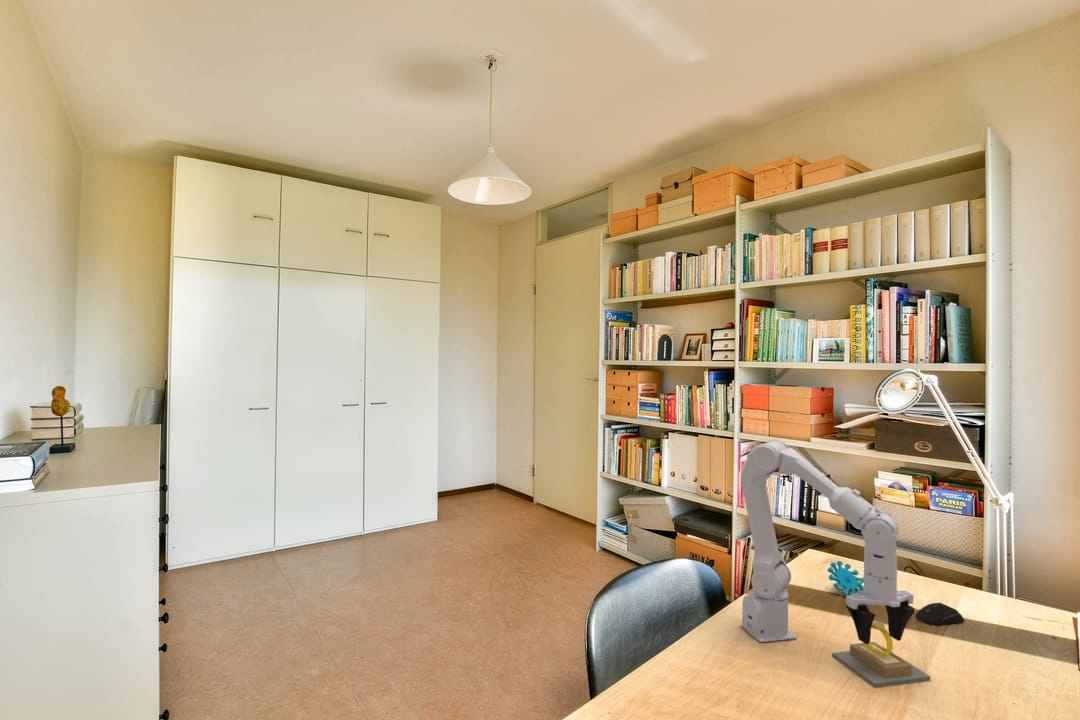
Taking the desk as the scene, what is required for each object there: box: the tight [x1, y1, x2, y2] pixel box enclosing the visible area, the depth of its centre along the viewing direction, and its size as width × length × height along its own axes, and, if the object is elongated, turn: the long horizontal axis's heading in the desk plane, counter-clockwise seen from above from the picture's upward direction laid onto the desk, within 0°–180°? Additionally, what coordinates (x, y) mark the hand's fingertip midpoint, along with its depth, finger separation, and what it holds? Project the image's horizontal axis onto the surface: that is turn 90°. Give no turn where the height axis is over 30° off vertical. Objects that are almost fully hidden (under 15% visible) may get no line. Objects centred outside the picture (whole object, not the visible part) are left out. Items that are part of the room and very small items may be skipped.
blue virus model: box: [826, 560, 864, 596], centre depth 146 cm, size 11×6×10 cm
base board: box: [831, 641, 931, 688], centre depth 108 cm, size 13×11×3 cm
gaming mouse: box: [914, 602, 965, 627], centre depth 129 cm, size 6×15×4 cm, turn 106°
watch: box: [864, 620, 894, 656], centre depth 109 cm, size 6×3×6 cm, turn 20°
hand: (879, 639), depth 108 cm, fingers open, 7 cm apart
